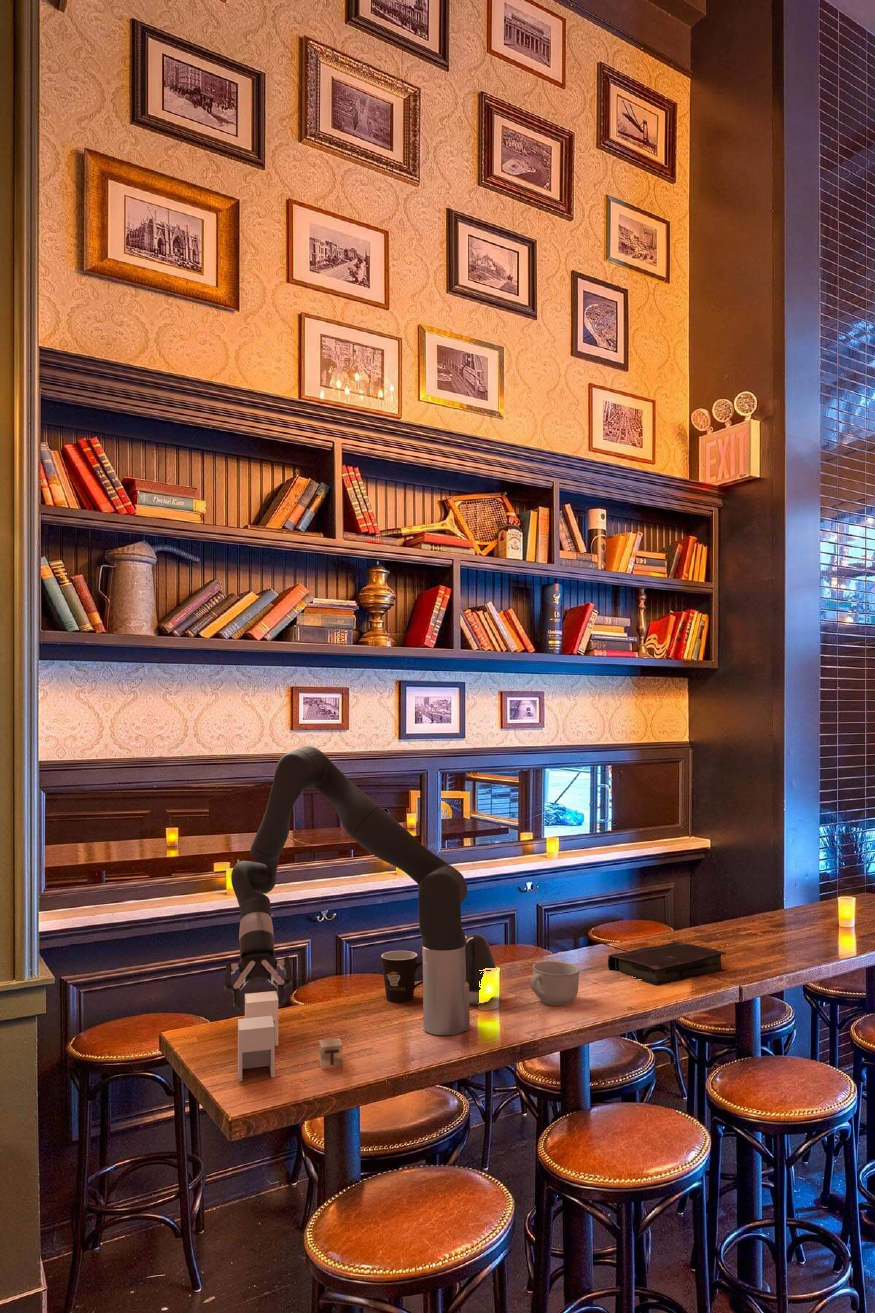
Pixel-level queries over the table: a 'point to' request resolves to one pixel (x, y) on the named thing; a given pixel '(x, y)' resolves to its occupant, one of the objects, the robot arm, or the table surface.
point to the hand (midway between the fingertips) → (259, 1006)
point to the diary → (667, 962)
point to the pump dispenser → (476, 963)
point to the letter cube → (330, 1053)
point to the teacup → (555, 982)
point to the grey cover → (256, 1044)
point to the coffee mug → (400, 975)
